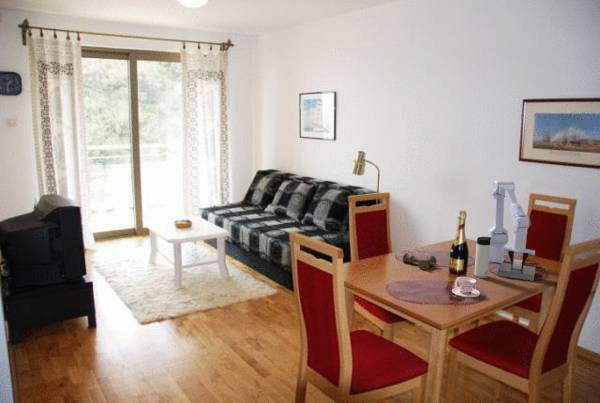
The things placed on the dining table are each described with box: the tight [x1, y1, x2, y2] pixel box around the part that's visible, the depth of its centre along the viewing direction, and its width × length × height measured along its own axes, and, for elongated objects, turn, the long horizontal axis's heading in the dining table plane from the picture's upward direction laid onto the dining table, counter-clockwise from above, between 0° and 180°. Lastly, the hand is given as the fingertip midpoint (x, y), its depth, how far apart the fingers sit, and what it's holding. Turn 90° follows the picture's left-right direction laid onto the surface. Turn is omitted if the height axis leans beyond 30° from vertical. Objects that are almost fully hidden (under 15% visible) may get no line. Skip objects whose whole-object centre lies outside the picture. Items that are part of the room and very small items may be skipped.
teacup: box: [451, 276, 481, 298], centre depth 219 cm, size 12×12×6 cm
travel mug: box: [473, 236, 492, 279], centre depth 239 cm, size 6×7×20 cm
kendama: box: [402, 252, 439, 271], centre depth 256 cm, size 6×10×20 cm
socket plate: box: [497, 262, 536, 282], centre depth 244 cm, size 16×14×3 cm
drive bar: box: [512, 258, 523, 271], centre depth 244 cm, size 4×4×7 cm
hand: (517, 266), depth 243 cm, fingers closed on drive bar, 4 cm apart
